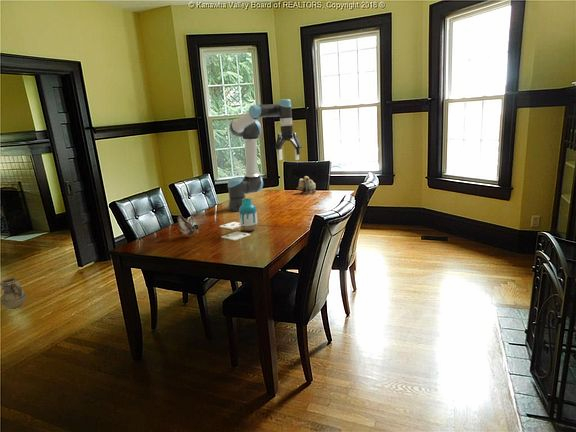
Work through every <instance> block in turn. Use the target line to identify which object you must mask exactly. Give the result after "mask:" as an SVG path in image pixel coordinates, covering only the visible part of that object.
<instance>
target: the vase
mask: <svg viewBox="0 0 576 432" xmlns="http://www.w3.org/2000/svg"><path fill="white" fill-rule="evenodd" d="M256 207H257V206H256V205H254V204H253V203H252V198H249V197H248V198H246V197H245V199H242V206H240V208H239V211H238V217H239V223H240V224H241V229H242V230H243V231H246V232H251V231H254V230H256V229H257V227H258V211H257V210H258V209H257V208H256Z"/></svg>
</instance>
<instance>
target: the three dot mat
mask: <svg viewBox="0 0 576 432" xmlns="http://www.w3.org/2000/svg"><path fill="white" fill-rule="evenodd" d="M240 227H241V224H240V221H239V222H237V221H232V222H231V221H230V222H228V223H225V224H222V225H219V228H222V229H228V230H234V229H238V228H240ZM241 228H242V227H241Z"/></svg>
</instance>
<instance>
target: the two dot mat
mask: <svg viewBox="0 0 576 432" xmlns="http://www.w3.org/2000/svg"><path fill="white" fill-rule="evenodd" d="M249 236H251V233H248V232H242V231H234V232H231V233H228V234H225V235H222V236H220V237H221V239H226V240H230V241H235V242H236V241H238V240H241V239H243V238H246V237H249Z"/></svg>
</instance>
